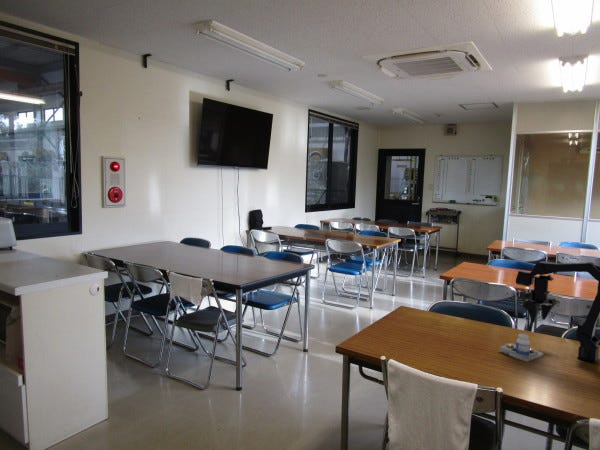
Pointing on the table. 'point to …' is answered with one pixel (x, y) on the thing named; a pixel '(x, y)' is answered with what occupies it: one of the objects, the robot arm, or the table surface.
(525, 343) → the pill bottle
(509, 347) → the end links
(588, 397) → the table surface
